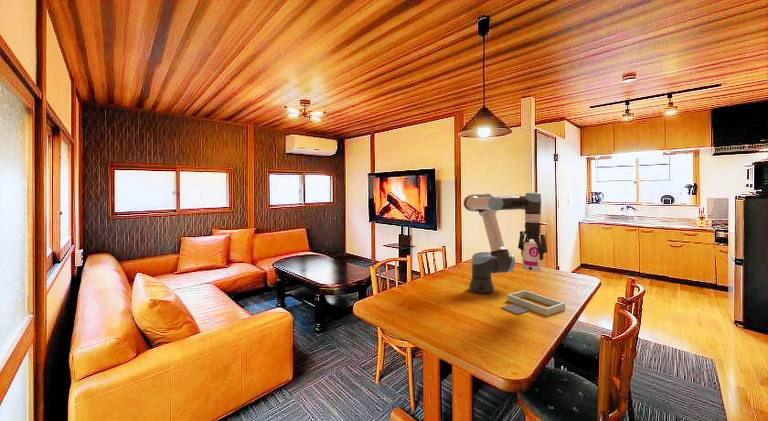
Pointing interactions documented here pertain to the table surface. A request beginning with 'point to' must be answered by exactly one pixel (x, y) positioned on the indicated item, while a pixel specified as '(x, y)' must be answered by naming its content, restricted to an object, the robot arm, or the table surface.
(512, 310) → the mat
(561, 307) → the grey rectangular frame
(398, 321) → the table surface
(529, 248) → the supplement can
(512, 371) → the table surface
